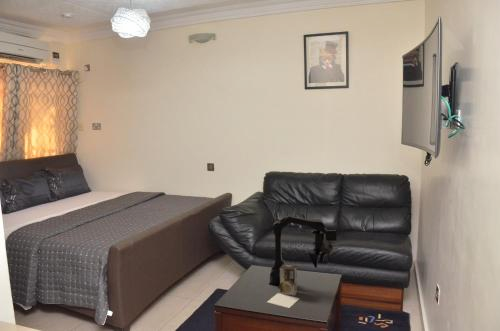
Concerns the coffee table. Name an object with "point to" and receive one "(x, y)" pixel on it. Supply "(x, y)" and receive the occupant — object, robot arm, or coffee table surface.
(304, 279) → the coffee table surface
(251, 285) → the coffee table surface
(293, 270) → the coffee box
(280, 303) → the mat
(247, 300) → the coffee table surface
